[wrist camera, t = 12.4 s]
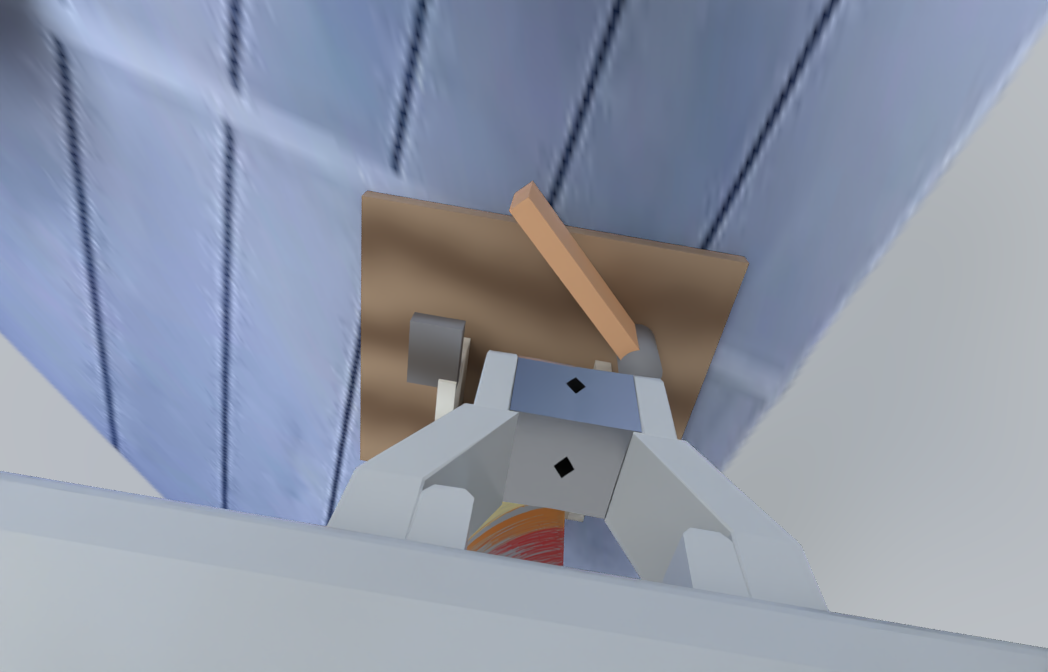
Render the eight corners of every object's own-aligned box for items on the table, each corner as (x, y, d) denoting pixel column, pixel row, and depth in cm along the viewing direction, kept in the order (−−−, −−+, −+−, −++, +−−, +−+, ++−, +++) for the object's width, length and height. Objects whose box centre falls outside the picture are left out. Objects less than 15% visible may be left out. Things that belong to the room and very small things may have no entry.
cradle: (367, 190, 32) (327, 225, 27) (744, 256, 33) (776, 303, 27) (364, 450, 43) (335, 512, 37) (652, 499, 43) (662, 567, 38)
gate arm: (662, 346, 34) (670, 378, 31) (628, 364, 35) (633, 397, 32) (541, 174, 30) (537, 192, 27) (505, 199, 31) (498, 220, 28)
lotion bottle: (537, 443, 39) (504, 782, 22) (467, 404, 38) (375, 731, 21) (585, 390, 37) (589, 729, 20) (512, 346, 36) (447, 667, 18)
